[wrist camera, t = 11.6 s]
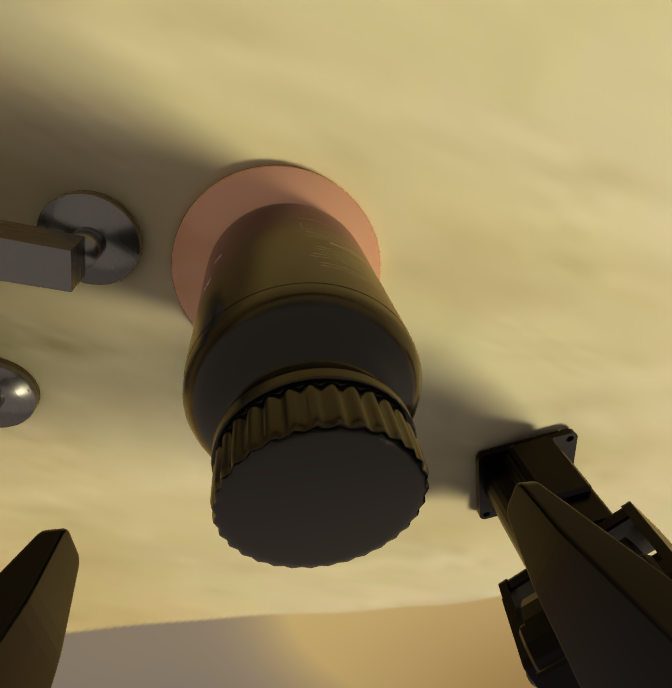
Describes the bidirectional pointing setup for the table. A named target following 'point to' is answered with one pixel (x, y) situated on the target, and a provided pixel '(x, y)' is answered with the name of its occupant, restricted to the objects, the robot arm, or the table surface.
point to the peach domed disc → (249, 194)
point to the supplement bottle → (303, 393)
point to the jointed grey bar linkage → (63, 268)
